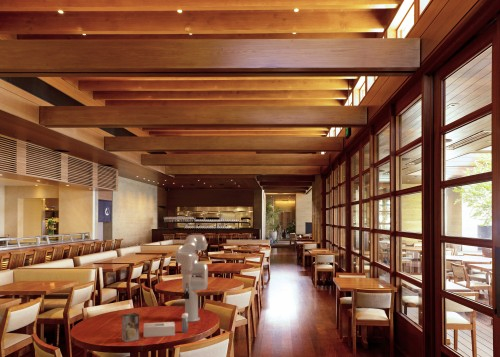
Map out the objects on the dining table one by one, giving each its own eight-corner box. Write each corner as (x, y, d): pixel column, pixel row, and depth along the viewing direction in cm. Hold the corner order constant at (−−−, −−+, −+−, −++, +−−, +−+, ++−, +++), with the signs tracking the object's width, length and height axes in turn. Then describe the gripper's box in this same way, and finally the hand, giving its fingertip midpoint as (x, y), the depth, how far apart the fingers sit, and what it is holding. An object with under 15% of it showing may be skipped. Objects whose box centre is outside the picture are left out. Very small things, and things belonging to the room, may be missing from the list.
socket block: (143, 332, 320) (144, 323, 321) (174, 330, 324) (174, 321, 325) (143, 337, 309) (143, 327, 309) (174, 335, 313) (174, 326, 313)
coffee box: (135, 337, 308) (135, 312, 309) (139, 339, 302) (139, 314, 303) (121, 340, 302) (121, 314, 303) (125, 342, 297) (125, 316, 298)
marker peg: (181, 331, 323) (181, 313, 324) (187, 331, 324) (187, 313, 325) (182, 332, 319) (182, 314, 320) (188, 332, 320) (188, 314, 321)
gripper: (181, 270, 331) (180, 295, 330) (181, 274, 314) (181, 300, 313) (191, 270, 332) (191, 295, 331) (192, 273, 315) (192, 300, 314)
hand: (186, 297), depth 322 cm, fingers open, 9 cm apart
